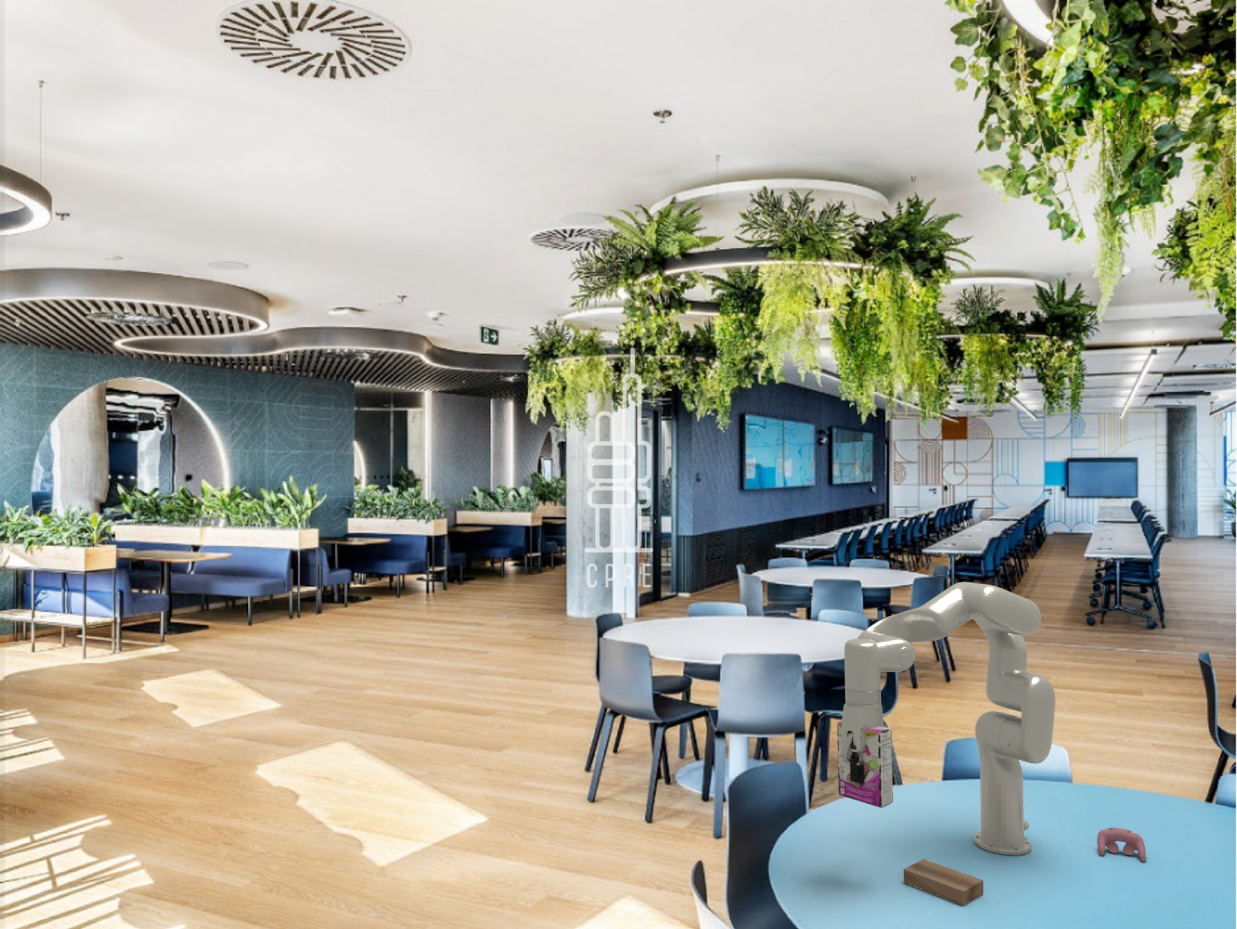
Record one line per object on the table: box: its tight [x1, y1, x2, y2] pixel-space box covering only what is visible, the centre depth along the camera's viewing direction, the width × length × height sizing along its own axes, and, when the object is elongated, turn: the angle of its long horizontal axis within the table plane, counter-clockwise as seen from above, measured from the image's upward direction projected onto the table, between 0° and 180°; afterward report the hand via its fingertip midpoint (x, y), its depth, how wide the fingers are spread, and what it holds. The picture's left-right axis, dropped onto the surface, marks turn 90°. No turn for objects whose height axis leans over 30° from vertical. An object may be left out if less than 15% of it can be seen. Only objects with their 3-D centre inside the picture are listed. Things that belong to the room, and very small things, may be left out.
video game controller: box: [1096, 827, 1147, 863], centre depth 209 cm, size 10×5×7 cm, turn 66°
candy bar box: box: [836, 720, 894, 809], centre depth 196 cm, size 11×5×16 cm, turn 41°
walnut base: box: [903, 858, 984, 907], centre depth 192 cm, size 8×14×3 cm, turn 40°
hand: (865, 778), depth 196 cm, fingers closed on candy bar box, 5 cm apart
